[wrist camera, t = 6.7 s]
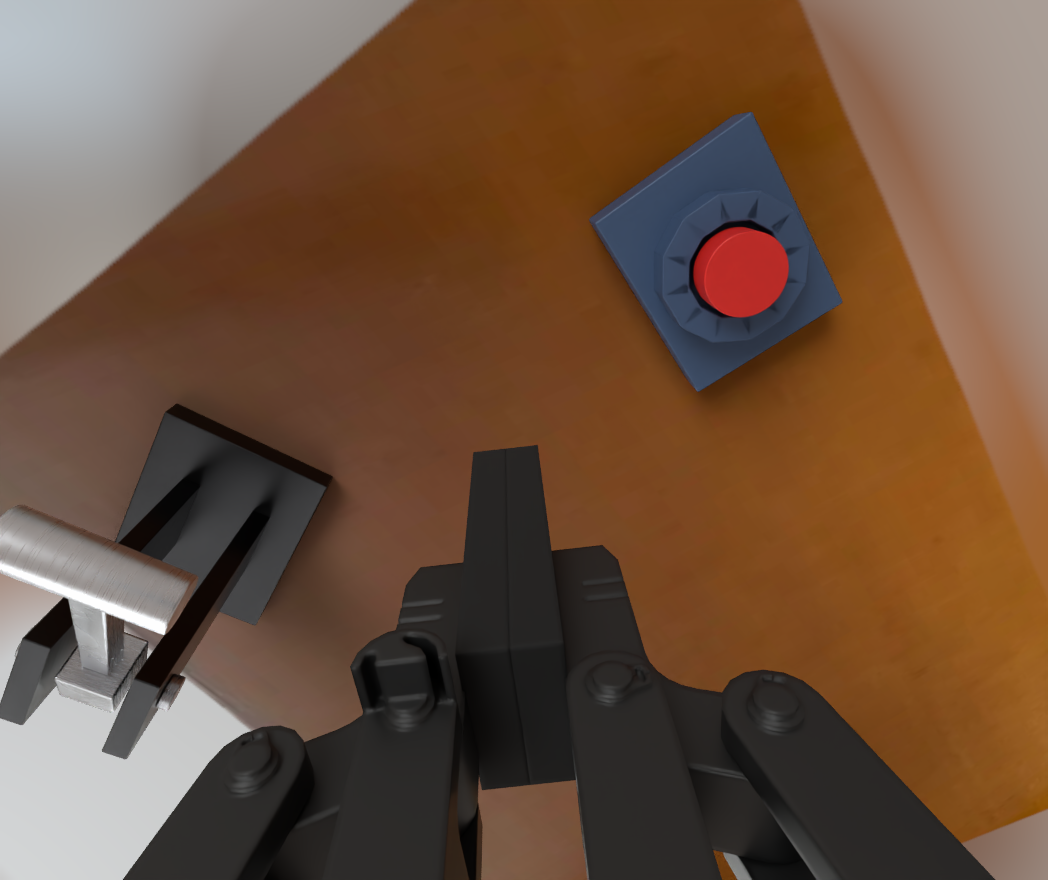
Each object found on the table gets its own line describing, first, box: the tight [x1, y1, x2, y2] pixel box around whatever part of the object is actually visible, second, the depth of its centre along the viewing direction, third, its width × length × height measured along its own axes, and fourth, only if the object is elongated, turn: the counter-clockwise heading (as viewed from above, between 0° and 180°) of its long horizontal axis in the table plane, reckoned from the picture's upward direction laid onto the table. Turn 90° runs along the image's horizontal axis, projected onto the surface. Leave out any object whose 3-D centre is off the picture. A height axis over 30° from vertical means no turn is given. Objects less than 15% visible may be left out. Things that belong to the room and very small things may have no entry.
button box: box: [589, 112, 842, 392], centre depth 30 cm, size 10×8×4 cm
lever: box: [0, 505, 198, 713], centre depth 22 cm, size 13×5×2 cm, turn 151°
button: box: [693, 227, 789, 317], centre depth 27 cm, size 4×4×2 cm
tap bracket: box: [0, 404, 333, 759], centre depth 30 cm, size 11×9×14 cm
